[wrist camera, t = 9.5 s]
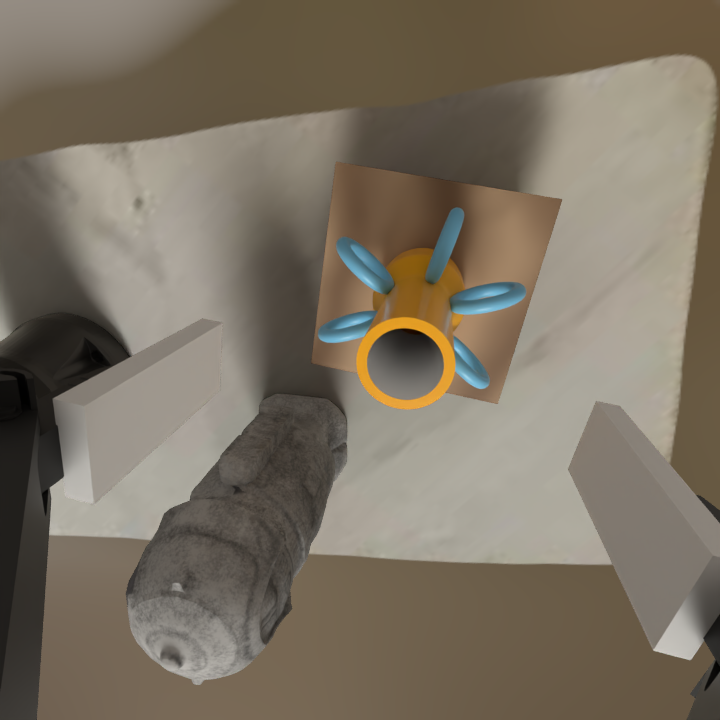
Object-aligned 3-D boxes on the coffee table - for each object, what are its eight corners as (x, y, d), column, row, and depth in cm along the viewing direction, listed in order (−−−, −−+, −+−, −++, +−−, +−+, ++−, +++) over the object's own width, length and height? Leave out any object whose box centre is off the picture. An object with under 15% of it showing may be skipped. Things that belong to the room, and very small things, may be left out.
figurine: (268, 486, 51) (123, 729, 28) (258, 374, 46) (71, 559, 23) (349, 496, 49) (267, 762, 26) (348, 381, 44) (246, 588, 21)
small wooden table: (333, 333, 42) (311, 363, 35) (357, 167, 37) (335, 161, 29) (487, 365, 41) (497, 404, 33) (537, 198, 35) (562, 199, 28)
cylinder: (359, 370, 34) (304, 488, 21) (322, 239, 31) (228, 275, 18) (519, 340, 31) (580, 456, 18) (496, 192, 28) (549, 191, 14)
